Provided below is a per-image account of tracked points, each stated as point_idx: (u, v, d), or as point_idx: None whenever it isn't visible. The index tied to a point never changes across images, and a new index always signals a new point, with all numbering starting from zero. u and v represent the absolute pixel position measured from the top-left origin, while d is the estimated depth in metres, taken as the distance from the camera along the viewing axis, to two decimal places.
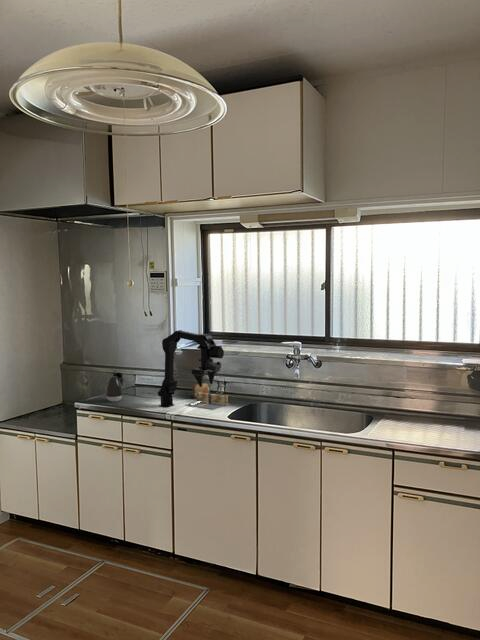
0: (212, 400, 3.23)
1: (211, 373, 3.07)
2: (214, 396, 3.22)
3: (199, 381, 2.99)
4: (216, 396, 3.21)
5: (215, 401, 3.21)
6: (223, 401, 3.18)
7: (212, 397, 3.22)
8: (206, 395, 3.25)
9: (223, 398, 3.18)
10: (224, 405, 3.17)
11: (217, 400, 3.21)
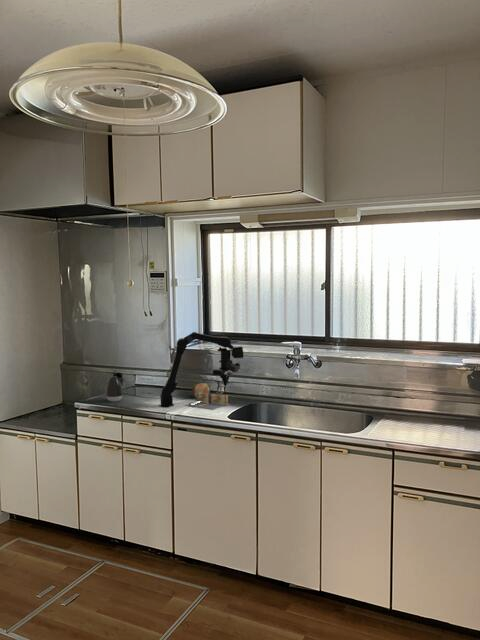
0: (212, 400, 3.23)
1: None
2: (214, 396, 3.22)
3: (224, 380, 3.22)
4: (216, 396, 3.21)
5: (215, 401, 3.21)
6: (223, 401, 3.18)
7: (212, 397, 3.22)
8: (206, 395, 3.25)
9: (223, 398, 3.18)
10: (224, 405, 3.17)
11: (217, 400, 3.21)
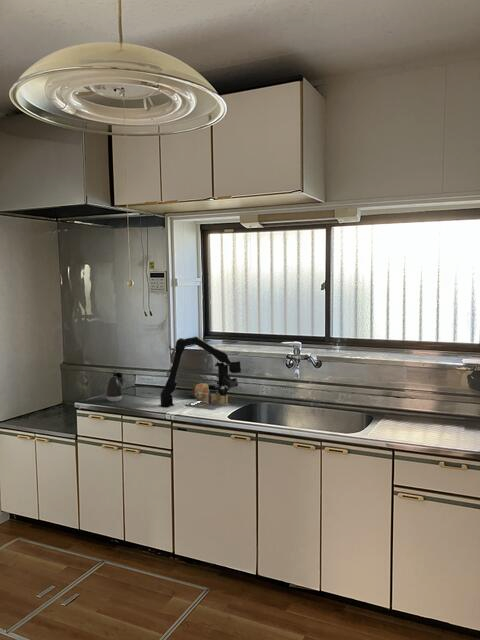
0: (212, 400, 3.23)
1: None
2: (214, 396, 3.22)
3: (222, 395, 3.21)
4: (216, 396, 3.21)
5: (215, 401, 3.21)
6: (223, 401, 3.18)
7: (212, 397, 3.22)
8: (206, 395, 3.25)
9: (223, 398, 3.18)
10: (224, 405, 3.17)
11: (217, 400, 3.21)
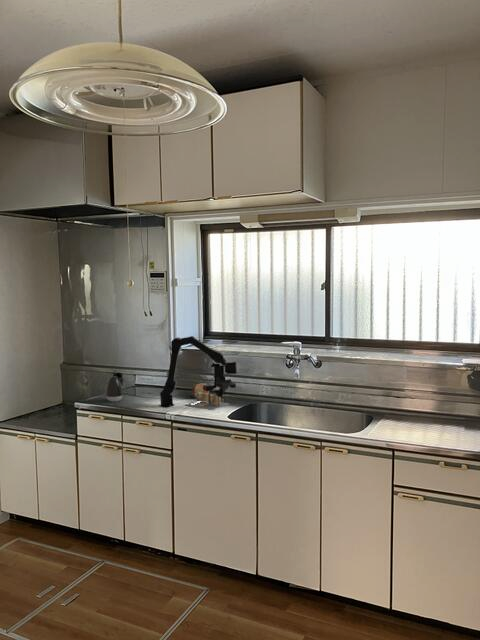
0: (210, 400, 3.22)
1: (220, 390, 3.18)
2: (211, 396, 3.21)
3: (217, 395, 3.18)
4: (213, 397, 3.19)
5: (212, 401, 3.20)
6: (217, 402, 3.15)
7: (211, 398, 3.22)
8: (206, 395, 3.25)
9: (217, 399, 3.15)
10: (224, 405, 3.17)
11: (213, 401, 3.19)
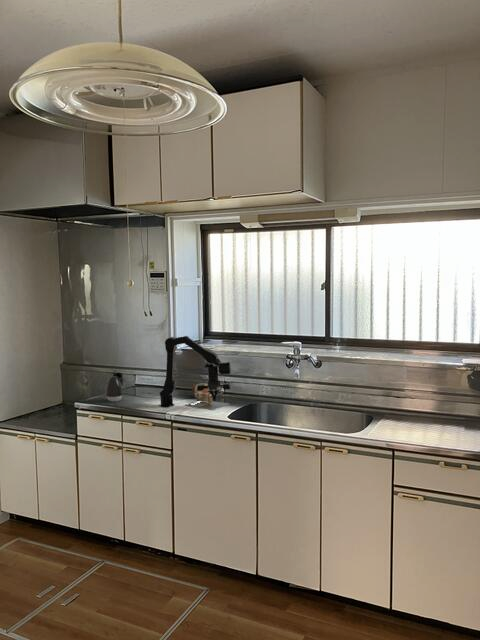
0: None
1: None
2: (209, 396, 3.21)
3: (212, 396, 3.16)
4: (209, 397, 3.19)
5: None
6: None
7: None
8: (206, 395, 3.25)
9: None
10: (224, 405, 3.17)
11: None
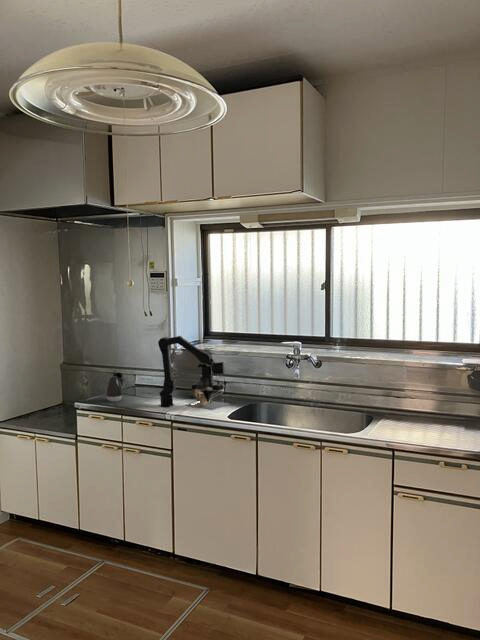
0: None
1: None
2: None
3: None
4: None
5: None
6: None
7: None
8: None
9: None
10: (224, 405, 3.17)
11: None
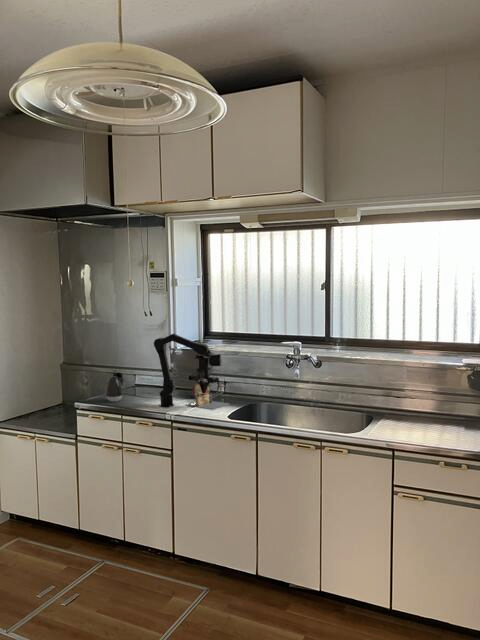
0: None
1: None
2: None
3: None
4: None
5: None
6: None
7: None
8: None
9: None
10: (224, 405, 3.17)
11: None
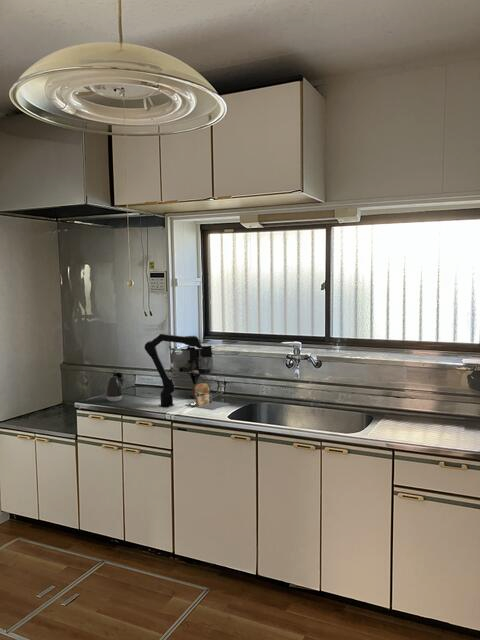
0: None
1: None
2: None
3: None
4: None
5: None
6: None
7: None
8: None
9: None
10: (224, 405, 3.17)
11: None
